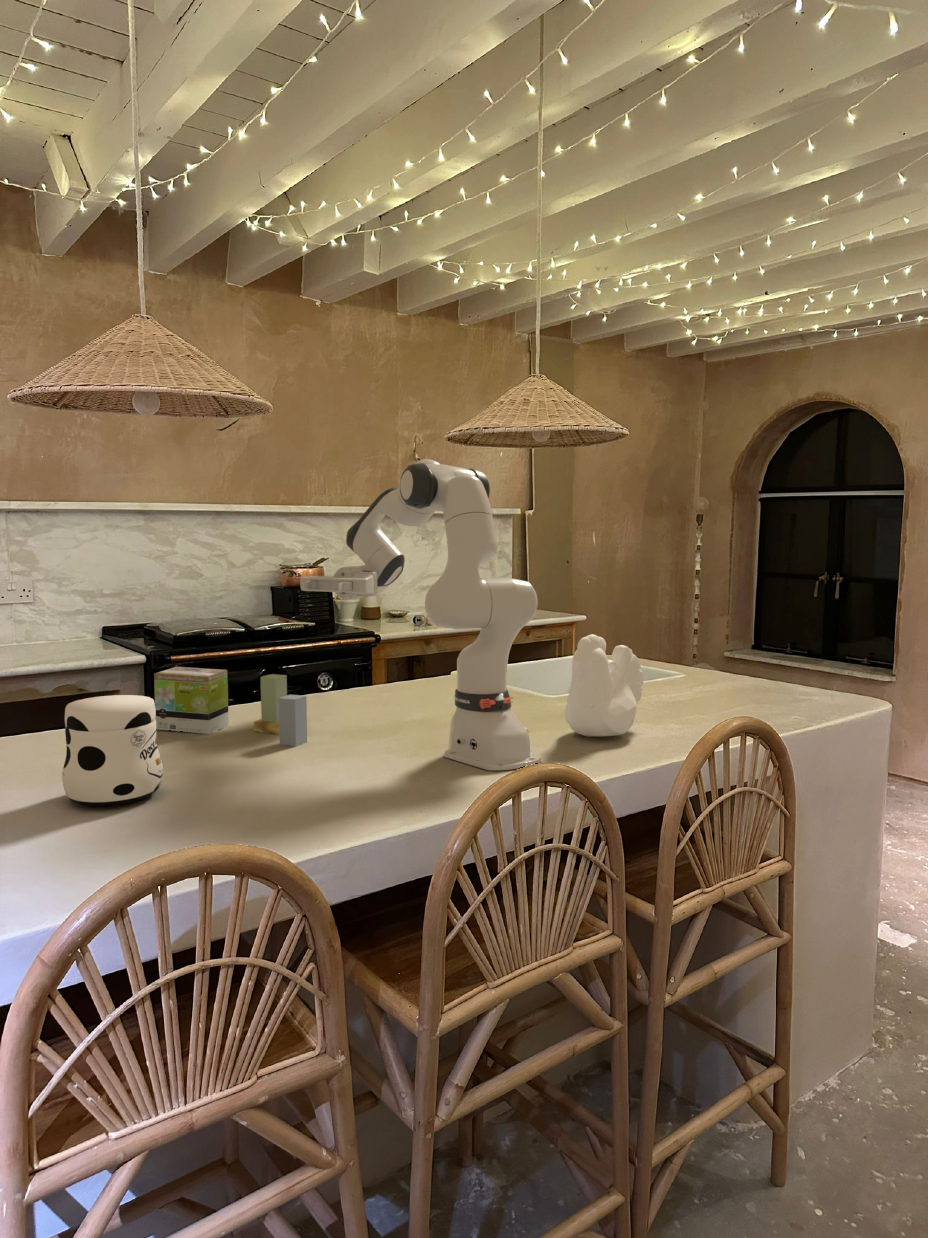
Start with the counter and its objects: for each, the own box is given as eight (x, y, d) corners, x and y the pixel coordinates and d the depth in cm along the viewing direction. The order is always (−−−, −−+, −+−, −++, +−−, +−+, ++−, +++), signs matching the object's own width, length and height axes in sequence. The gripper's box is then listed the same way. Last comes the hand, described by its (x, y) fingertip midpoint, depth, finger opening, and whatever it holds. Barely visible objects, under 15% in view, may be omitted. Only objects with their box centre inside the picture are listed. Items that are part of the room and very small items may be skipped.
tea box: (154, 731, 211) (152, 672, 209) (177, 722, 221) (175, 665, 219) (209, 735, 208) (207, 675, 206) (230, 725, 217) (228, 668, 216)
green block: (287, 718, 214) (286, 675, 212) (276, 722, 209) (275, 678, 208) (272, 717, 215) (271, 674, 214) (261, 721, 211) (260, 677, 210)
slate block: (307, 742, 201) (306, 696, 200) (296, 746, 197) (295, 699, 196) (291, 740, 203) (290, 694, 201) (279, 744, 199) (278, 698, 197)
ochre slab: (294, 728, 214) (294, 718, 214) (277, 734, 208) (277, 724, 208) (271, 725, 217) (271, 715, 217) (254, 731, 211) (253, 721, 211)
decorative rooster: (590, 747, 196) (592, 640, 193) (549, 733, 210) (551, 632, 207) (671, 734, 208) (674, 633, 206) (628, 721, 222) (630, 626, 219)
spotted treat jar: (181, 796, 161) (178, 702, 159) (89, 820, 148) (85, 717, 146) (135, 778, 172) (132, 690, 170) (47, 798, 159) (42, 703, 157)
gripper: (316, 570, 236) (286, 572, 223) (381, 572, 227) (354, 575, 215) (317, 593, 236) (287, 597, 224) (382, 595, 228) (355, 600, 215)
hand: (320, 586), depth 219 cm, fingers open, 8 cm apart
